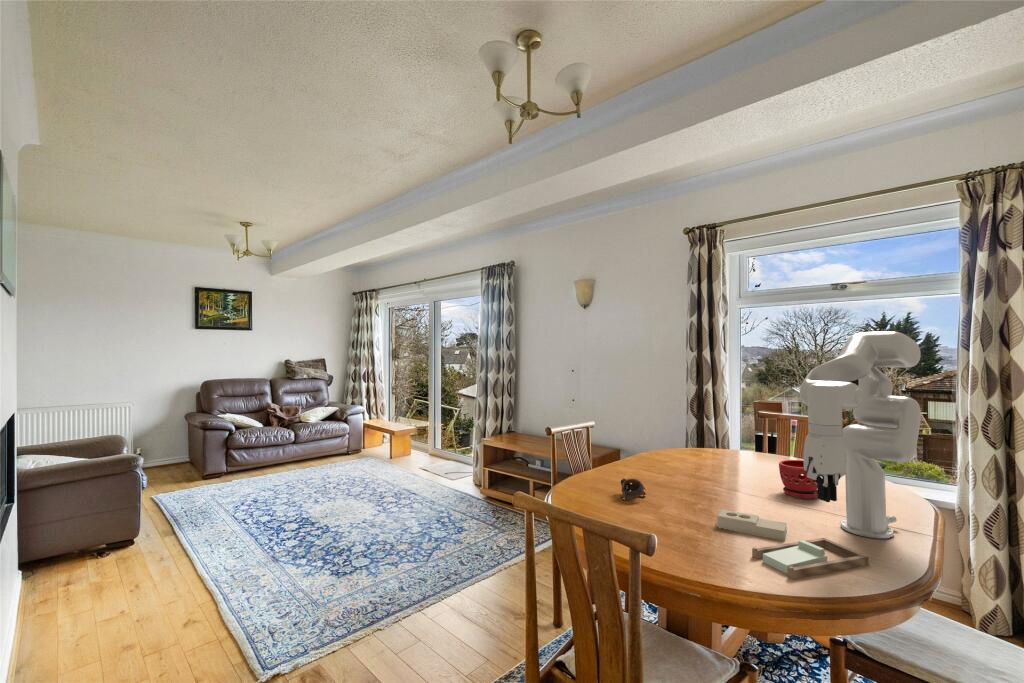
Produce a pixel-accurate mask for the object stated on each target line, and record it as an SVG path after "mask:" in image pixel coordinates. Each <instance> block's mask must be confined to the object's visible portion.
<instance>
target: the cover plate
mask: <svg viewBox="0 0 1024 683" xmlns="http://www.w3.org/2000/svg"><path fill="white" fill-rule="evenodd" d="M797 542H798V546H795V547H791V548H786V549H782V550H777V551H773V552H768V553H764V554H763V558H762V562H763V563H764V564H767V565H769V566H771V567H773V568H775V569H777V570H778V571H781V572H783V573H784V574H787V575H788V567H790V566H791V567H799V566H804V565H810V564H815V563H821V562H827V561H828V555H826V554H825V547H823V548H821V547H819V546H816V545H814V544H811V543H809V542H806V540H804V539H801V540H798V541H797Z"/></svg>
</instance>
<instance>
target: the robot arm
mask: <svg viewBox="0 0 1024 683" xmlns="http://www.w3.org/2000/svg"><path fill="white" fill-rule="evenodd" d="M921 352H922V351H921V349H920V346H919V345H918V343H917V342H916V341H915V340H914V339H912V338H911V337H910V336H908V335H906V334H904V333H902V332H899V331H894V330H893V331H892V330H891V331H866V332H865V331H864V332H863V331H862V332H858V333H855V334H853V335H851V336H850V337H849V338H848V339H847V340H846V343H845V344H844V346H843V347H842V349H841V351H840V353H838V356H837V357H835V358H834V359H833V358H832V359H831V360H827V362H823V363H822V364H820V365H817V366H815V367H813V368H812V369H811V370H810V371H809V372H808V373H807V375H806V376H805V377H804V379H803V381H802V383H801V385H800V387H799V398H800V401H801V402H802V403H803V405H805V406H807V419H808V420H807V423H808V424H807V425H808V427H807V428H808V434H807V435H806V437H805V441H804V446H803V447H804V448H803V461H804V470H805V471H807V472H808V474H807V477H808V478H811V479H813V480H814V481H815V483H816V484H817V493H818V497H817V499H818V500H820V501H823V502H826V503H830V502H831V501H832V502H837V500H838V498H837V497H838V495H837V490H838V489H837V486H839V480H841V478H843V477H844V476H845V478H844V479H845V507H846V508H845V512H846V514H845V515H846V517H845V518H846V519H843V520H841V521H840V527H841V528H842V529H843V530H844V531H847V532H849V533H851V534H854V535H858V536H861V537H865V538H871V539H880V540H881V539H890V537H891V538H892V537H894V530H893V529H892V528H891V527H889V524H892V523H896V522H897V517H896V516H895V515H887V500H886V499H887V498H886V496H887V495H886V474H885V472H884V469H883V468H882V466H881V465H880V464H879V463H878V461H877V460H882V461H889V462H895V463H897V462H898V463H909V462H912V461H913V460H914V458H915V455H916V452H917V446H918V441H919V433H920V429H921V422H922V421H921V419H922V411H921V406H920V404H919V403H918V401H917V400H916V399H914V398H912V397H908V396H899V395H893V388H894V384H893V382H892V380H891V379H890V378H889V377H888V376H887V375H886V374H885V373H883V372H882V371H881V370H880V369H879V368H902V369H903V368H912V367H915V366H917V365H918V363H919V362H920V360H921ZM857 380H858V385H857V384H856V383H853V382H854V381H857ZM843 410H846V411H848V410H849V411H851V410H852V411H853V413H852V415H853V418H854V420H855V421H856V422H858V423H859V424H849V425H846V426H845V427H844V426H843Z"/></svg>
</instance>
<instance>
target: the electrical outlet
mask: <svg viewBox="0 0 1024 683" xmlns="http://www.w3.org/2000/svg"><path fill="white" fill-rule="evenodd" d="M716 518H717V519H716V520H717V528H718V527H719V528H718V529H721V528H724V529H723V530H726V529H729V530H728V531H732V530H733V531H734V532H736V533H743V534H747V535H753V536H758V537H763V538H768V539H773V540H779V541H783V542H784V541H786V537H787V532H788V530H787V529H788V527H787V522H782V521H777V520H771V519H764V518H760V516H759V515H757V514H751V513H747V512H745V513H744V512H740V511H734V510H728V509H721V510H720V511H719V513H718V514H717V516H716ZM733 531H732V532H733Z"/></svg>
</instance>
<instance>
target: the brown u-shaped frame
mask: <svg viewBox="0 0 1024 683" xmlns="http://www.w3.org/2000/svg"><path fill="white" fill-rule="evenodd" d="M805 541H806V542H809V543H811V544H814V545H816V546H819V547H821V548H824V549H827V550H830V551H832V552H834V553H837V554H839V555H841V556H843V558H837V559H833V560H827V562H821V563H815V564H810V565H804V566H799V567H791V566H790V567H788V574H787V577H788V578H789V579H791V580H795V579H801V578H806V577H811V576H816V575H822V574H826V573H832V572H837V571H838V572H839V571H844V570H848V569H854V568H859V567H864V566H868V565H870V562H869V561H870V560H869V556H868V555H865V554H863V553H861V552H859V551H856V550H853V549H851V548H848V547H846V546H845V545H842V544H840V543H838V542H835V541H832V540H830V539H827V538H826V537H819V538H814V539H807V540H805ZM795 546H798V541H795V542H789V543H783V544H776V545H770V546H764V547H755V546H754V547H752V548H751V556H752V558H754V559H755V560H756V559H763V554H764V553H768V552H773V551H777V550H782V549H786V548H791V547H795Z"/></svg>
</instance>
